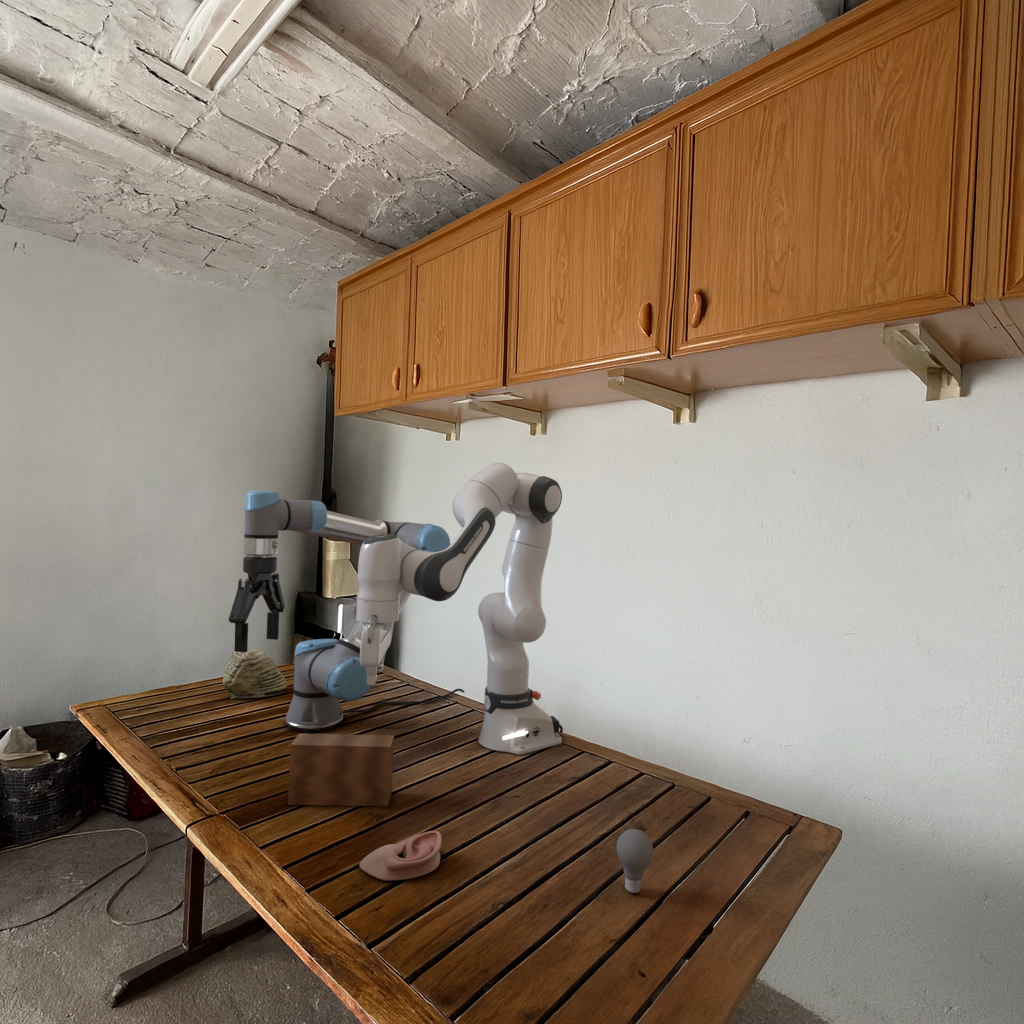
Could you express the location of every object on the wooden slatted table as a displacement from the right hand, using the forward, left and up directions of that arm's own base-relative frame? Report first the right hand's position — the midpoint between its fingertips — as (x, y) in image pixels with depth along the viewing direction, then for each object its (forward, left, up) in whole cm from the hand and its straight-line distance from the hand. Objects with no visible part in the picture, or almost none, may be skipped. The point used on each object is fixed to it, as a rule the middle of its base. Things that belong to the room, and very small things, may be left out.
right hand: (375, 677), depth 133 cm
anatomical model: (+1, +25, -26) cm, 36 cm away
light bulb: (-32, +48, -26) cm, 63 cm away
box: (+5, -3, -26) cm, 27 cm away
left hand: (+20, -30, +1) cm, 36 cm away
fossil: (+15, -81, -26) cm, 86 cm away
